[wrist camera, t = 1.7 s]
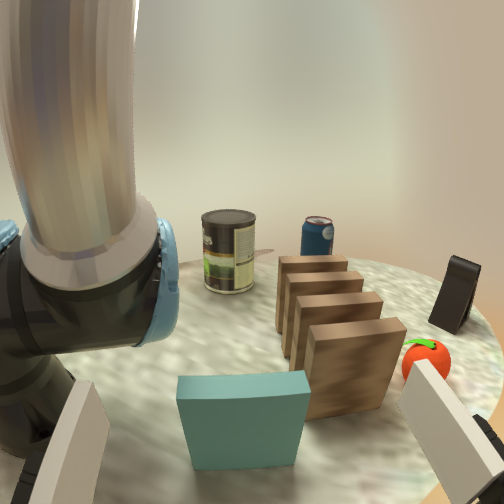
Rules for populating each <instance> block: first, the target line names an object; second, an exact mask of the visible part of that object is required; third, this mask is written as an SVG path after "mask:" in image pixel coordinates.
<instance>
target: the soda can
mask: <svg viewBox="0 0 504 504" xmlns="http://www.w3.org/2000/svg"><path fill="white" fill-rule="evenodd" d="M333 237H334V227H333V224H332V220H331V219H329V218H326V217H319V216H311V217H307V218H306V221H305V223H304V224H303V226H302V239H301V252H300V256H317V255H332V248H333Z"/></svg>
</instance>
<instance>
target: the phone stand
mask: <svg viewBox="0 0 504 504" xmlns="http://www.w3.org/2000/svg"><path fill="white" fill-rule="evenodd" d="M480 271H481V265H479V264H476V263H473V262H471V261H468V260H466V259H463V258H460V257H458V256H455V255H453V256H451V258H450V260H449V263H448V267H447V272H446V275H445V278H444V281H443V283H442V286H441V289H440V292H439V294H438V297H437V300H436V302H435V305H434V307H433V310H432V312H431V315H430V317H429V320H428V322H430V323H432V324H434V325H436V326H438V327H440V328H442V329H444V330H446V331H448V332H450V333H452V334H454V335H455V334H456V332H457V331H458V330H459V329H460V327H461V326H462V325H463V323H464V322H465V321H466V320H467V318H468V317H469V314H470V311H471V307H472V303H473V299H474V295H475V291H476V286H477V282H478V278H479V274H480Z"/></svg>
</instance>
